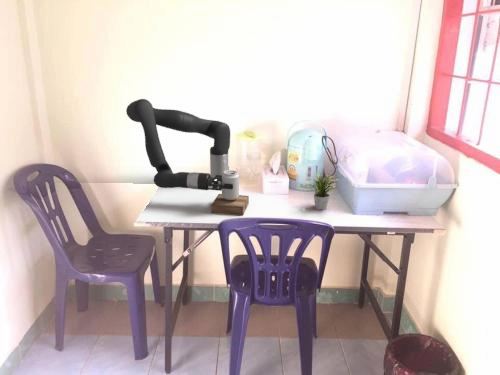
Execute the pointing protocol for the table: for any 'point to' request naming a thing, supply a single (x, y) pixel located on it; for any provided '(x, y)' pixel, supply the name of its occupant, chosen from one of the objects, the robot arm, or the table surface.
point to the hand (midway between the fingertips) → (234, 183)
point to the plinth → (230, 205)
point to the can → (230, 178)
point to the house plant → (322, 191)
